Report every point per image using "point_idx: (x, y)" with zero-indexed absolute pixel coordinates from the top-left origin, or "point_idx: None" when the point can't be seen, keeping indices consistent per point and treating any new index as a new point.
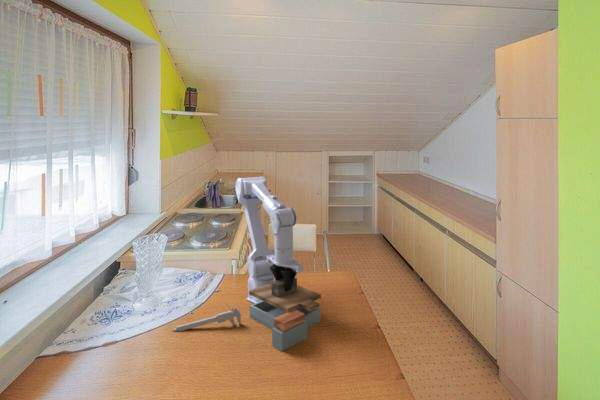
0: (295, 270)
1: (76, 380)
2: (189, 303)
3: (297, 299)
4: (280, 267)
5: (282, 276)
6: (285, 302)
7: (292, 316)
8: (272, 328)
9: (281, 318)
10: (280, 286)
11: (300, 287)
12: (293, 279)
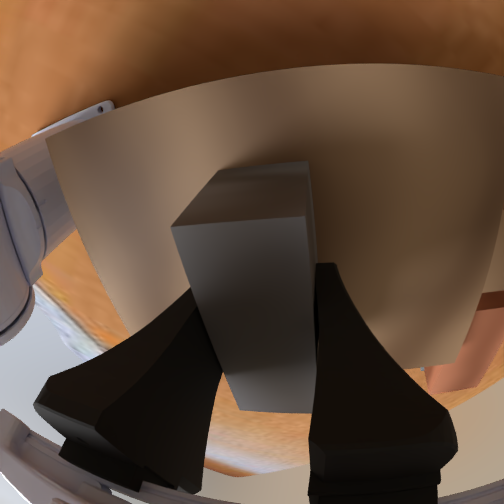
0: (471, 499)
1: (250, 466)
2: (60, 326)
3: (441, 273)
4: (165, 458)
5: (193, 344)
6: (404, 341)
7: (485, 350)
8: (422, 369)
9: (454, 380)
10: None
11: (272, 90)
12: (366, 334)
